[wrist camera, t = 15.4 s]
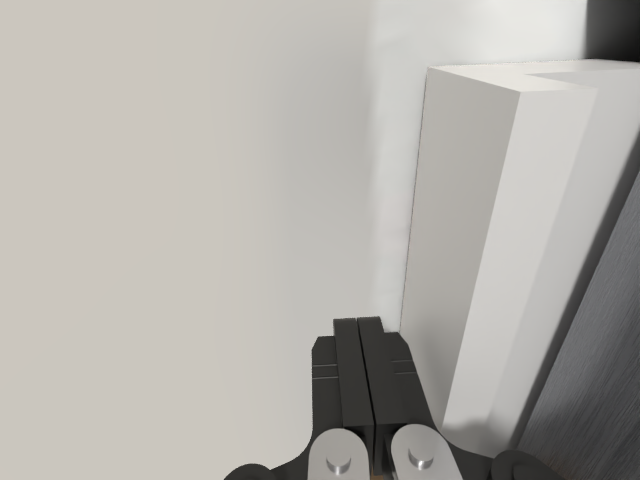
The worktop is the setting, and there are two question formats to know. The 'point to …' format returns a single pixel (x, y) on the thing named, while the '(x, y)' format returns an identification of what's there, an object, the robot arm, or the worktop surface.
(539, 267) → the tray
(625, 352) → the housing
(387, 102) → the worktop surface
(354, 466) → the robot arm
